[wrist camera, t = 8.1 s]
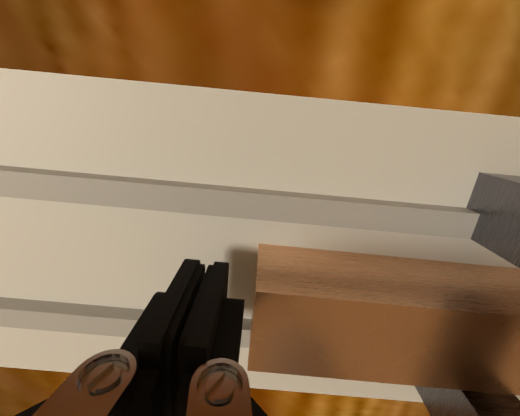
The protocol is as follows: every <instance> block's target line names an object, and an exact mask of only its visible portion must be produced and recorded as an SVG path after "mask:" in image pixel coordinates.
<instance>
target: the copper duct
mask: <svg viewBox="0 0 520 416" xmlns="http://www.w3.org/2000/svg"><path fill="white" fill-rule="evenodd" d="M247 371H256V372H267V373H278V374H289V375H300V376H311V377H322V378H333V379H344V380H355V381H366V382H377V383H388V384H399V385H410V386H421V387H432V388H443V389H454V390H465V391H476V392H487V393H498V394H509V395H520V269H519V268H508V267H498V266H488V265H477V264H467V263H456V262H446V261H436V260H425V259H415V258H405V257H394V256H384V255H374V254H363V253H353V252H343V251H332V250H322V249H311V248H301V247H291V246H280V245H270V244H260V243H259V244H258V254H257V263H256V273H255V282H254V292H253V301H252V312H251V326H250V340H249V353H248V367H247Z"/></svg>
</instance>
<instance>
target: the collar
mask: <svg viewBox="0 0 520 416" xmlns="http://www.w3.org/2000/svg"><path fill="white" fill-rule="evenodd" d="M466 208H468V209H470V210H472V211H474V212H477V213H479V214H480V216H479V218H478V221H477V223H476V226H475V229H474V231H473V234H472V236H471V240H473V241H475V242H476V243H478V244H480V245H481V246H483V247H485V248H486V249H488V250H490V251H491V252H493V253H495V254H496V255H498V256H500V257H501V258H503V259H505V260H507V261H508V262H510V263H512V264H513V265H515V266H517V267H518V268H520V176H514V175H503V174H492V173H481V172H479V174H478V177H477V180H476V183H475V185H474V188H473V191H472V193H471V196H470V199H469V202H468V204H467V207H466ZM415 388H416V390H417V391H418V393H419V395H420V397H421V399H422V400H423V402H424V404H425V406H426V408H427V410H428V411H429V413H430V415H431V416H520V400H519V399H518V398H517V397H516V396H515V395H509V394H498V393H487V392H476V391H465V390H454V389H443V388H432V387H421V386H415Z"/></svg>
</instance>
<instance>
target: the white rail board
mask: <svg viewBox="0 0 520 416" xmlns="http://www.w3.org/2000/svg"><path fill="white" fill-rule="evenodd" d="M479 172H481V173H492V174H503V175H514V176H520V117H512V116H502V115H491V114H480V113H470V112H459V111H449V110H438V109H428V108H417V107H406V106H396V105H385V104H375V103H364V102H354V101H343V100H332V99H322V98H311V97H301V96H290V95H280V94H269V93H258V92H248V91H237V90H227V89H216V88H206V87H195V86H184V85H174V84H163V83H153V82H142V81H132V80H121V79H110V78H100V77H89V76H79V75H68V74H58V73H47V72H36V71H26V70H15V69H5V68H0V367H11V368H22V369H34V370H46V371H58V372H70V373H73V371H74V370H75V369H76V368H77V367H78V366H79V365H81V364H82V363H83V362H84V361H85V360H86V359H88V358H90V357H91V356H93V355H95V354H97V353H100V352H102V351H105V350H111V349H120V347H121V346H122V344H123V343H124V341H125V339H126V338H127V336H128V335H129V333H130V332H131V330H132V328H133V327H134V325H135V324H136V322H137V321H138V319H139V317H140V316H141V314H142V313H143V311H144V310H145V308H146V306H147V305H148V303H149V302H150V300H151V299H152V297H153V295H154V294H155V293H156V292H166V290H167V289H168V287H169V285H170V284H171V282H172V280H173V278H174V277H175V275H176V273H177V271H178V270H179V268H180V266H181V264H182V263H183V261H184V260H185V259H195V260H200V262H201V264H205V272H206V270H207V267H208V265H213V264H214V262H215V261H216V262H227V263H229V276H228V292H227V298H234V299H245V303H244V314H243V325H242V335H241V345H240V354H239V364H240V365H241V366H242V367H243V368H244V370H245V371H246V373H247V375H248V379H249V386H250V388H259V389H271V390H283V391H295V392H306V393H318V394H330V395H342V396H354V397H366V398H378V399H389V400H401V401H413V402H423V400H422V399H421V397H420V395H419V393H418V391H417V390H416V388H415V386H410V385H399V384H388V383H377V382H366V381H355V380H344V379H333V378H322V377H311V376H300V375H289V374H278V373H267V372H256V371H247V367H248V353H249V340H250V326H251V312H252V301H253V292H254V282H255V273H256V263H257V254H258V244H259V243H260V244H270V245H280V246H291V247H301V248H311V249H322V250H332V251H343V252H353V253H363V254H374V255H384V256H394V257H405V258H415V259H425V260H436V261H446V262H456V263H467V264H477V265H488V266H498V267H508V268H518V267H517V266H515V265H513V264H512V263H510V262H508V261H507V260H505V259H503V258H501V257H500V256H498V255H496V254H495V253H493V252H491V251H490V250H488V249H486V248H485V247H483V246H481V245H480V244H478V243H476V242H475V241H473V240H471V236H472V234H473V231H474V229H475V226H476V223H477V221H478V218H479V216H480V214H479V213H477V212H474V211H472V210H470V209H468V208H466V207H467V204H468V202H469V199H470V196H471V193H472V191H473V188H474V185H475V183H476V180H477V177H478V174H479ZM519 269H520V268H519ZM515 396H516V397H517V398H518V399H519V400H520V395H515Z"/></svg>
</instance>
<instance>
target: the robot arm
mask: <svg viewBox="0 0 520 416" xmlns="http://www.w3.org/2000/svg"><path fill="white" fill-rule="evenodd" d="M228 276H229V263H227V262H216V261H215V262H214V264H213V265H208V267H207V270H206V272H205V264H201V262H200V260H195V259H185V260H184V261H183V263H182V264H181V266H180V268H179V270H178V271H177V273H176V275H175V277H174V278H173V280H172V282H171V284H170V285H169V287H168V289H167V290H166V292H156V293H155V294H154V295H153V297H152V299H151V300H150V302H149V303H148V305H147V306H146V308H145V310H144V311H143V313H142V314H141V316H140V317H139V319H138V321H137V322H136V324H135V325H134V327H133V328H132V330H131V332H130V333H129V335H128V336H127V338H126V339H125V341H124V343H123V344H122V346H121V347H120V349H111V350H105V351H102V352H100V353H97V354H95V355H93V356H91V357H90V358H88V359H86V360H85V361H84V362H83V363H82V364H81V365H79V366H78V367H77V368H76V369H75V370H74V371H73V373H72V374H71V375H70V376H69V377H68V378H67V379H66V380H65V381H64V382H63V383H62V384H61V385H60V386H59V387H58V388H57V390H56V391H55V392H54V393H53V394H52V395H51V396H50V397H49V398H48V399H46V400H44V401H42V402H40V403H38V404H36V405H35V406H33V407H31V408H29V409H27V410H25V411H23V412H21V413H19V414H17V415H15V416H267V414H266V413H265V412H264V411H263V410H262V409H261V408H260V406H259V405H258V404H257V403H256V402H255V401H254V400H253V398H252V397H251V396H250V386H249V379H248V375H247V373H246V371H245V370H244V368H243V367H242V366H241V365H240V364H239V354H240V345H241V335H242V325H243V314H244V303H245V299H234V298H227V292H228Z"/></svg>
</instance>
